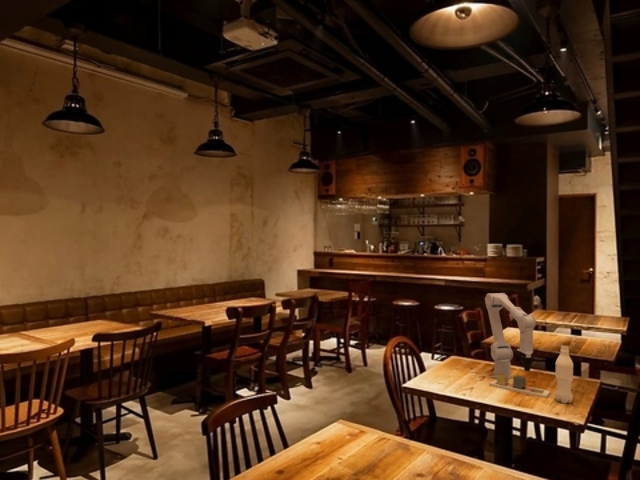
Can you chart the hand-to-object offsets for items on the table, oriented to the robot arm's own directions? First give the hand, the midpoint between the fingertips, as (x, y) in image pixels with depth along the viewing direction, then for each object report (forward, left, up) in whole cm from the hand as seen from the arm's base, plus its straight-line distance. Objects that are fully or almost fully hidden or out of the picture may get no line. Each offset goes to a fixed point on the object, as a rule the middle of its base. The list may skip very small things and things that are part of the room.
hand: (525, 368), depth 223 cm
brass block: (+3, -10, -10) cm, 14 cm away
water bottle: (+6, +18, -10) cm, 22 cm away
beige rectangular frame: (+3, -2, -10) cm, 11 cm away
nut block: (+3, -2, -10) cm, 10 cm away
